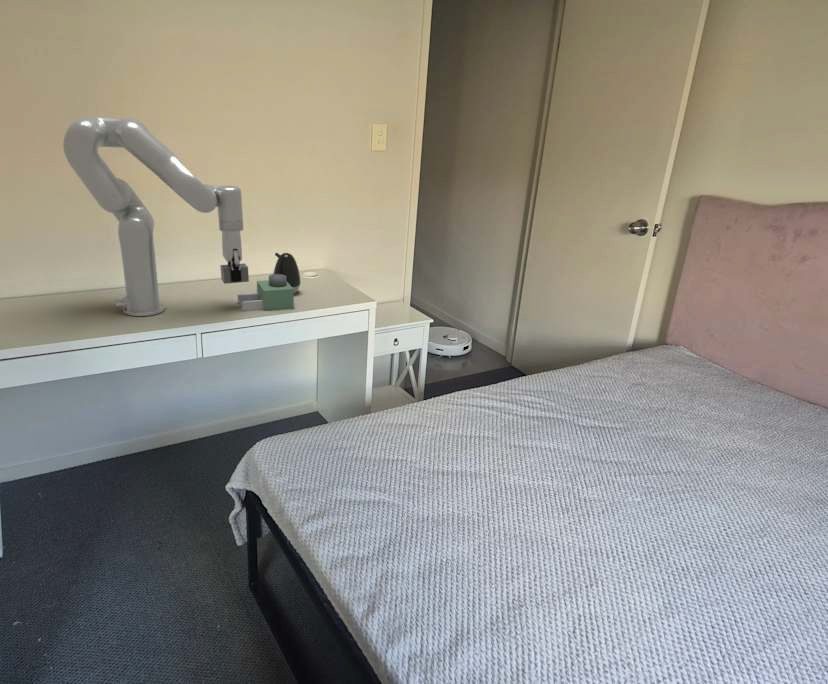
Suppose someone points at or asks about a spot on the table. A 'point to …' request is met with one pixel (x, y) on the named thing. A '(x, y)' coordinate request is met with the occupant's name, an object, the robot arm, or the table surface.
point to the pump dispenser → (288, 269)
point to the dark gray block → (227, 273)
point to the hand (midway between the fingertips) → (234, 278)
